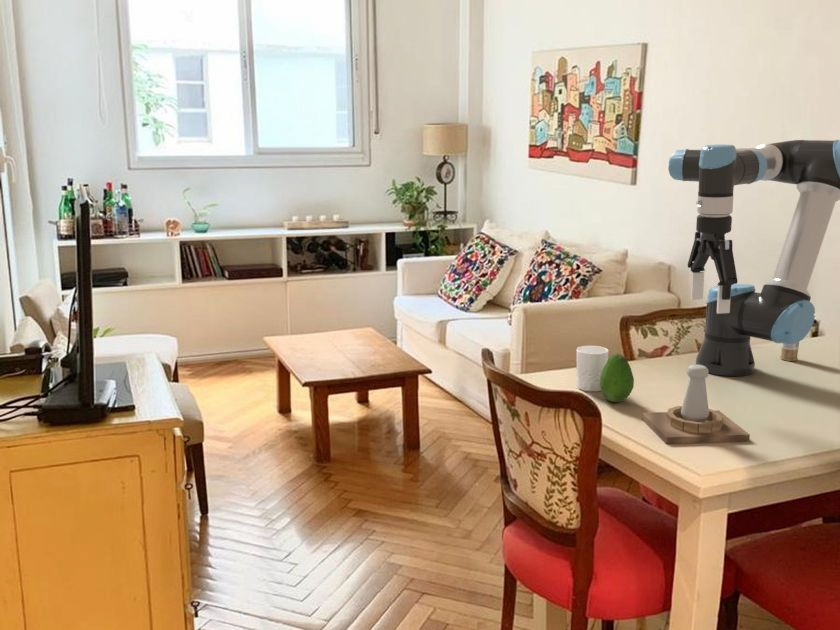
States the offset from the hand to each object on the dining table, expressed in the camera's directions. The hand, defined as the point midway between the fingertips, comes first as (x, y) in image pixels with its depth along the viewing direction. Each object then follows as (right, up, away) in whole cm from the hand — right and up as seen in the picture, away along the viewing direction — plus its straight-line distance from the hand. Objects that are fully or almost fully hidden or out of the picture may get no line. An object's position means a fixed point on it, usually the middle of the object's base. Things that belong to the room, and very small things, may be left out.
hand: (709, 306), depth 193 cm
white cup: (-24, -21, +18) cm, 36 cm away
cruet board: (-7, -27, -11) cm, 30 cm away
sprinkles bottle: (+37, -15, +42) cm, 58 cm away
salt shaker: (-7, -26, -11) cm, 29 cm away
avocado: (-20, -23, +7) cm, 31 cm away
